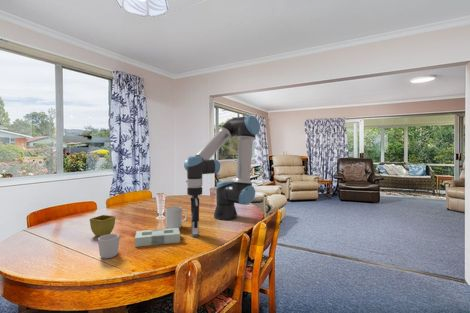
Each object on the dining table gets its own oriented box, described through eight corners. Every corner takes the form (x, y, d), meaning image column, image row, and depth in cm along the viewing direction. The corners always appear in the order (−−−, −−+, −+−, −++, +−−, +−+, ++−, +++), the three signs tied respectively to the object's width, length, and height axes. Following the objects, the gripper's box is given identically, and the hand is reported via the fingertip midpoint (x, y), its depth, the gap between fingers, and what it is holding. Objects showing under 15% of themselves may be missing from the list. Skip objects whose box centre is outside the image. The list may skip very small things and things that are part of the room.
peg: (197, 234, 131) (197, 211, 130) (198, 236, 128) (198, 212, 127) (191, 235, 130) (191, 211, 130) (192, 237, 127) (192, 213, 126)
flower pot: (116, 233, 133) (116, 216, 132) (102, 238, 124) (102, 220, 124) (103, 231, 136) (103, 214, 135) (89, 236, 127) (88, 218, 127)
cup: (106, 249, 111) (105, 231, 110) (124, 249, 111) (124, 231, 111) (94, 260, 100) (94, 240, 100) (115, 259, 101) (115, 240, 100)
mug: (167, 231, 136) (167, 210, 136) (164, 226, 144) (164, 207, 144) (189, 228, 141) (189, 208, 141) (184, 223, 149) (184, 205, 149)
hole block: (178, 235, 129) (178, 227, 129) (180, 242, 120) (180, 233, 120) (136, 239, 124) (136, 231, 123) (134, 246, 114) (134, 238, 114)
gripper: (185, 184, 135) (185, 228, 135) (189, 189, 119) (189, 238, 120) (199, 184, 137) (199, 227, 138) (205, 188, 121) (205, 237, 122)
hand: (194, 232), depth 129 cm, fingers closed on peg, 3 cm apart
